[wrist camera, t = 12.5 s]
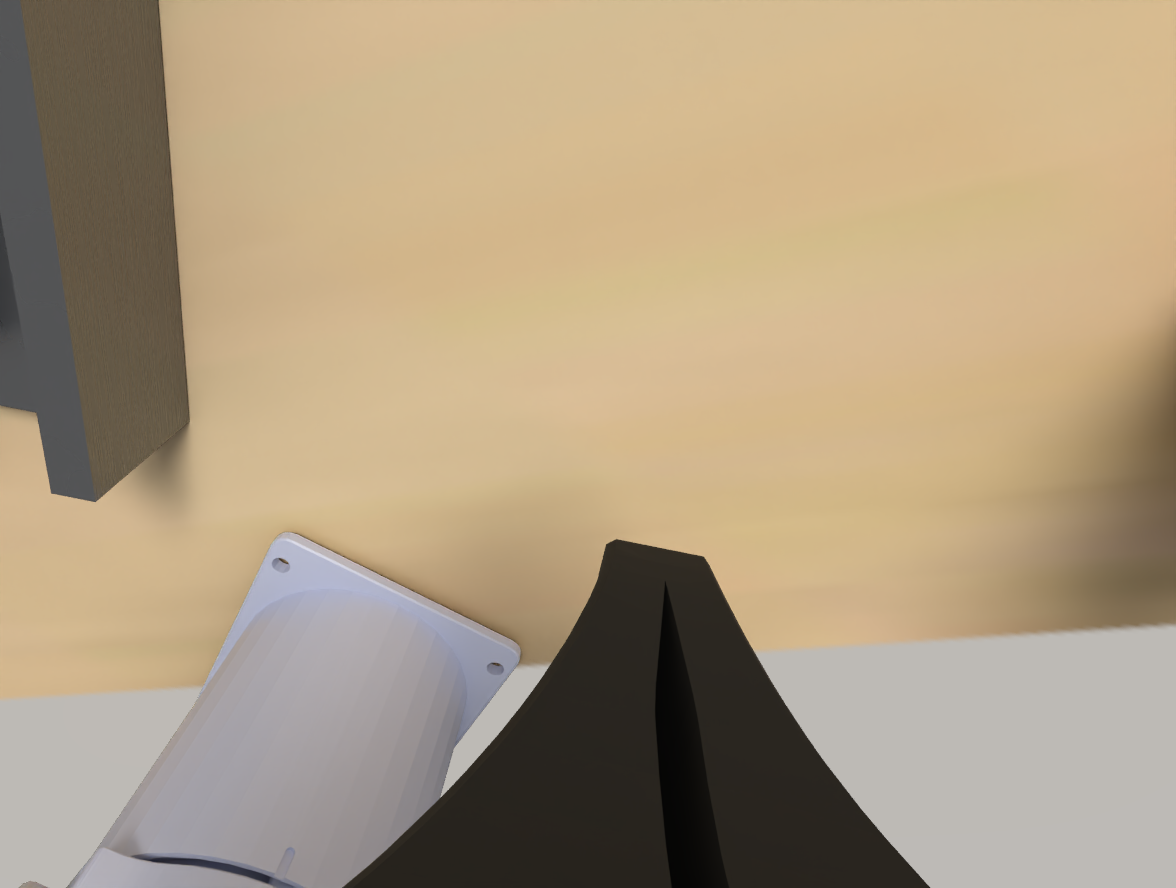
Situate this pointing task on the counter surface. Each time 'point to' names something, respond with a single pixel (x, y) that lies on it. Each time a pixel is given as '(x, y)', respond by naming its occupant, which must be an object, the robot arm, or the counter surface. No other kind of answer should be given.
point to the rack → (88, 238)
